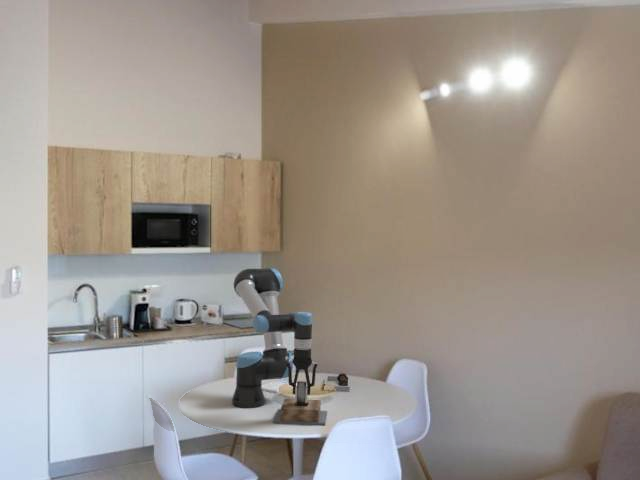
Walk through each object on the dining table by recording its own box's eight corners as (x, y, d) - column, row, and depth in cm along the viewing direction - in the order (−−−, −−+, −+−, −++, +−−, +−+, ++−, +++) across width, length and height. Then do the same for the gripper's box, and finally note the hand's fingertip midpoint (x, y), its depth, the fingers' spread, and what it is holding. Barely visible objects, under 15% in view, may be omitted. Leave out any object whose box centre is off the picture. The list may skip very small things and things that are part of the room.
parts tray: (323, 390, 340) (323, 385, 340) (325, 380, 362) (325, 375, 362) (349, 391, 339) (349, 386, 339) (350, 381, 361) (350, 376, 361)
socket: (273, 423, 284) (273, 409, 284) (278, 410, 302) (278, 397, 302) (325, 425, 283) (325, 411, 283) (327, 413, 301) (327, 399, 301)
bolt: (342, 393, 343) (340, 385, 358) (351, 388, 343) (349, 380, 358) (337, 383, 343) (335, 375, 358) (346, 378, 343) (343, 371, 358)
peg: (296, 410, 290) (296, 383, 290) (296, 408, 294) (297, 380, 294) (305, 411, 290) (306, 383, 290) (305, 408, 294) (306, 381, 294)
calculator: (255, 390, 339) (255, 386, 339) (278, 382, 356) (279, 379, 356) (277, 394, 332) (277, 390, 332) (299, 386, 349) (299, 382, 349)
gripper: (282, 349, 288) (280, 403, 289) (321, 350, 287) (320, 405, 288) (284, 345, 296) (282, 398, 297) (322, 347, 295) (321, 400, 296)
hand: (301, 401), depth 292 cm, fingers closed on peg, 4 cm apart
